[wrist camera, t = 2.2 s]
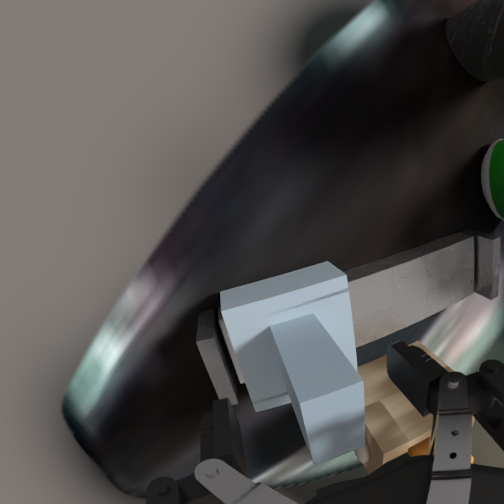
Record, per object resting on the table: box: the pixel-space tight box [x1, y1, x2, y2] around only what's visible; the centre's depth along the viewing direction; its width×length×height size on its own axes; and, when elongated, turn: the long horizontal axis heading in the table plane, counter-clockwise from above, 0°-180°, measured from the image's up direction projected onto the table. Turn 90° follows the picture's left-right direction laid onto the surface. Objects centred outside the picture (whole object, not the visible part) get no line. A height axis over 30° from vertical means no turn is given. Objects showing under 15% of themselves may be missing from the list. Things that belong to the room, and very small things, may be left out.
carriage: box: [220, 261, 365, 464], centre depth 15 cm, size 7×8×10 cm
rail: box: [196, 229, 500, 405], centre depth 19 cm, size 23×5×4 cm, turn 104°
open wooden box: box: [354, 341, 475, 474], centre depth 18 cm, size 8×6×9 cm
